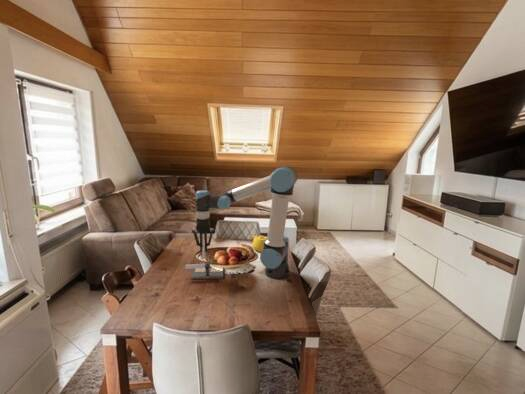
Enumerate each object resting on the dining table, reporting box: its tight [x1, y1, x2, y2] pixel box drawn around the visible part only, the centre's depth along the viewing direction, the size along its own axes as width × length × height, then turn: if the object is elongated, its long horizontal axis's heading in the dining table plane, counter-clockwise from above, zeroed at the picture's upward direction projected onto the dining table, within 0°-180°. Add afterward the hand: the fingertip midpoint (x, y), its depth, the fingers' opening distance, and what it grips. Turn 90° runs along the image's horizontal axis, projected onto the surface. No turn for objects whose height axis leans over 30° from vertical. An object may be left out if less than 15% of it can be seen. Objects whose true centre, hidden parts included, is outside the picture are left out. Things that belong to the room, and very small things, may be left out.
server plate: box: [190, 265, 224, 280], centre depth 180 cm, size 18×14×6 cm
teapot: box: [251, 235, 267, 254], centre depth 218 cm, size 18×11×11 cm, turn 41°
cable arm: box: [184, 262, 211, 270], centre depth 173 cm, size 3×14×2 cm, turn 101°
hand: (203, 256), depth 179 cm, fingers closed
